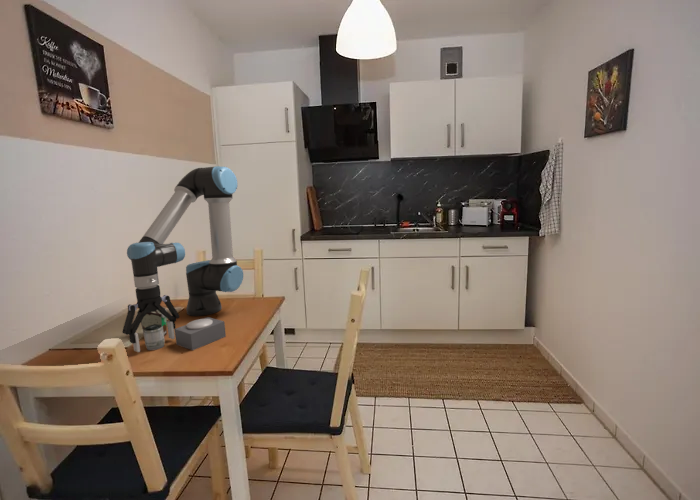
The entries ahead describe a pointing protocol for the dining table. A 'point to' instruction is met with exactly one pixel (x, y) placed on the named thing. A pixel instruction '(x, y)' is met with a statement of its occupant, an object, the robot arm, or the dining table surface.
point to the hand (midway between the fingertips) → (155, 344)
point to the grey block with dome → (200, 333)
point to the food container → (154, 320)
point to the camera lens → (154, 337)
